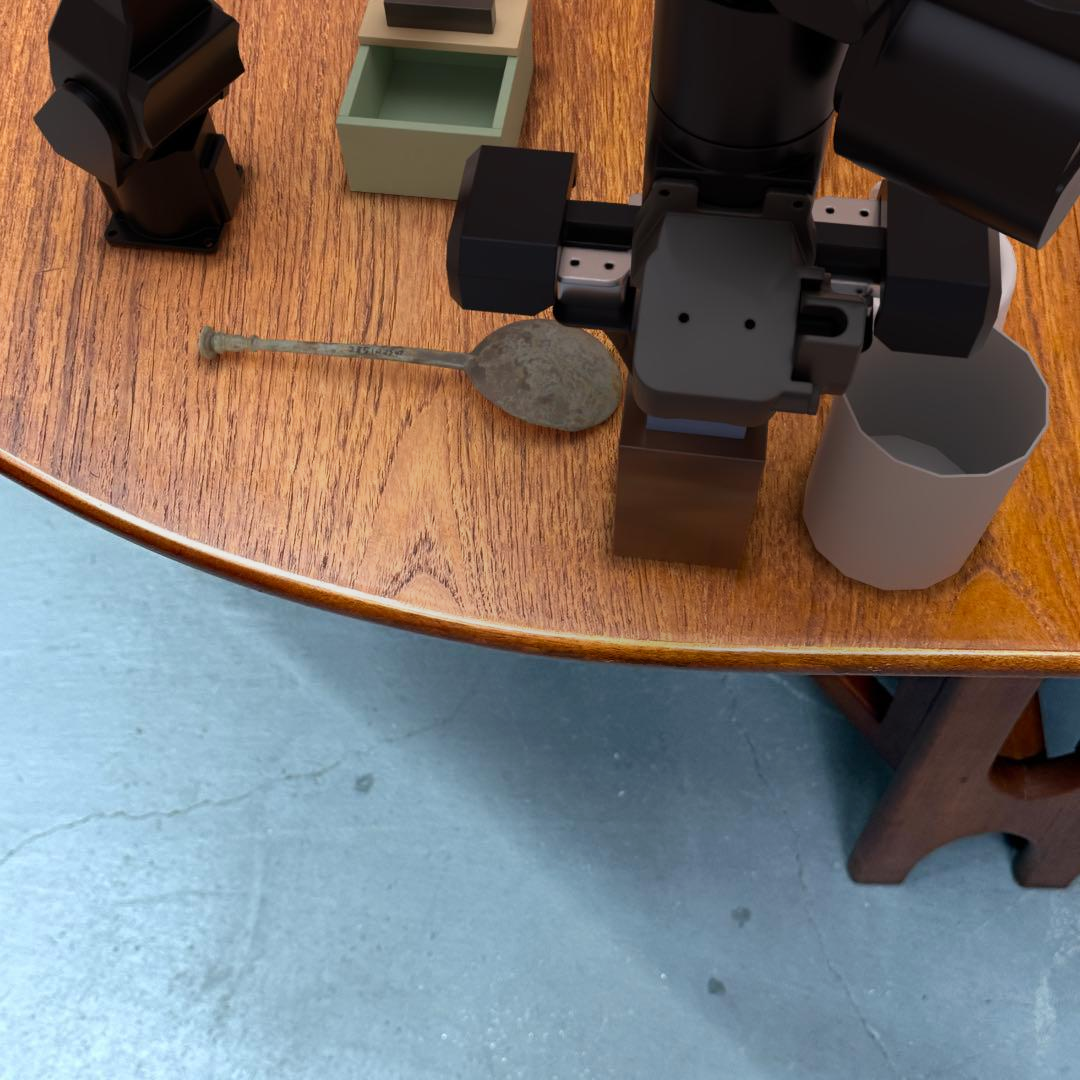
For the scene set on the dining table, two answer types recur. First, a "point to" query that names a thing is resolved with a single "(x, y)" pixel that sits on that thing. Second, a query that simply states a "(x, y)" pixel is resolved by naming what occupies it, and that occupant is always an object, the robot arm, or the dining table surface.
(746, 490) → the stand
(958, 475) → the cup
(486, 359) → the soupspoon
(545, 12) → the dining table surface
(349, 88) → the box
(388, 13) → the lid
